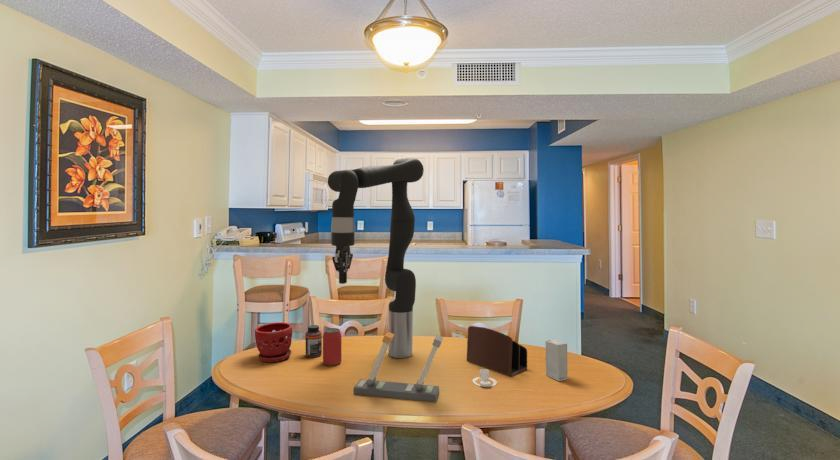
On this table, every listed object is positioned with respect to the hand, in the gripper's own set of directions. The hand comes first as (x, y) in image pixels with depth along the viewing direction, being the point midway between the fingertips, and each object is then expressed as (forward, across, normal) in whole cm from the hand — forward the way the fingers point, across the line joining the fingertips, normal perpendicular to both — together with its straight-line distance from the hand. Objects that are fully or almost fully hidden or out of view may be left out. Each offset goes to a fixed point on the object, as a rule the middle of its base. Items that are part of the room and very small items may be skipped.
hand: (342, 283), depth 140 cm
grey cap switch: (+28, -10, -28) cm, 41 cm away
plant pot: (+31, +10, +31) cm, 45 cm away
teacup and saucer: (+32, +3, -44) cm, 54 cm away
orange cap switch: (+28, -10, -13) cm, 32 cm away
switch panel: (+31, -10, -21) cm, 39 cm away
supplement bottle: (+31, +16, +18) cm, 39 cm away
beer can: (+31, +10, +8) cm, 34 cm away
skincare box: (+31, +13, -70) cm, 78 cm away
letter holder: (+31, +20, -50) cm, 63 cm away
